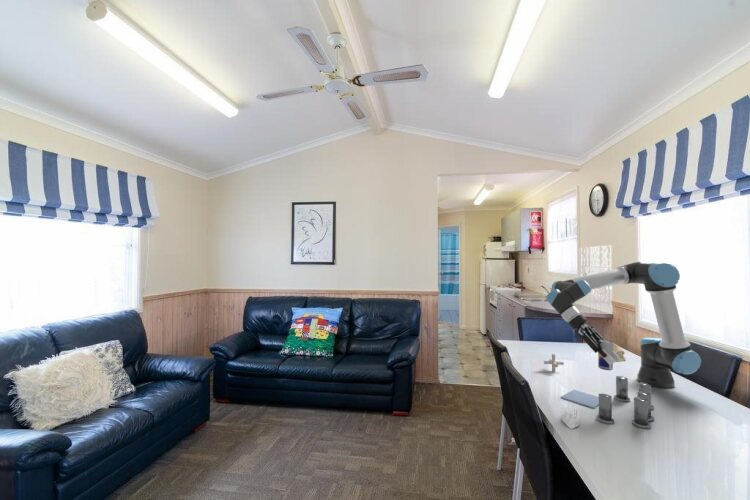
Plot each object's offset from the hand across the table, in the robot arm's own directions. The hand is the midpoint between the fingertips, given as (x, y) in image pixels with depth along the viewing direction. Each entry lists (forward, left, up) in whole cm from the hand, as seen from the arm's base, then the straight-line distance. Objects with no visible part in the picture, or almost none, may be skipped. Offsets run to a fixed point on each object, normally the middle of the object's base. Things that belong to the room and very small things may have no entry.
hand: (615, 361), depth 147 cm
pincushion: (+25, +12, -21) cm, 35 cm away
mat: (+8, -10, -21) cm, 24 cm away
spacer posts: (-3, +4, -21) cm, 21 cm away
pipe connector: (+4, -47, -21) cm, 52 cm away
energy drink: (+2, -3, -4) cm, 6 cm away
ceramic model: (-46, -74, -21) cm, 90 cm away
